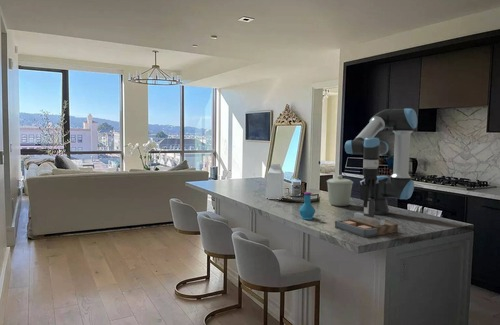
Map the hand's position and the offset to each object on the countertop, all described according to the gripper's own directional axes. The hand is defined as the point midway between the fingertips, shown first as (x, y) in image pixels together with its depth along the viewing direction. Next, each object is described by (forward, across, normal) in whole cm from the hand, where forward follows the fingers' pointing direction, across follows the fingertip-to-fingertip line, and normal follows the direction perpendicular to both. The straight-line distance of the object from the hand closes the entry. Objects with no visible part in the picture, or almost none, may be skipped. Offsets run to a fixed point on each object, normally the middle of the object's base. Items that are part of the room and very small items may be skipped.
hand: (368, 212), depth 196 cm
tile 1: (+8, -9, +5) cm, 13 cm away
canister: (+9, +32, +58) cm, 67 cm away
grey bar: (+5, 0, 0) cm, 5 cm away
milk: (+9, +4, +98) cm, 98 cm away
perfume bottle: (+9, -13, +35) cm, 38 cm away
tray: (+9, -9, 0) cm, 13 cm away
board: (+9, +2, 0) cm, 9 cm away
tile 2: (+8, -9, -6) cm, 13 cm away
